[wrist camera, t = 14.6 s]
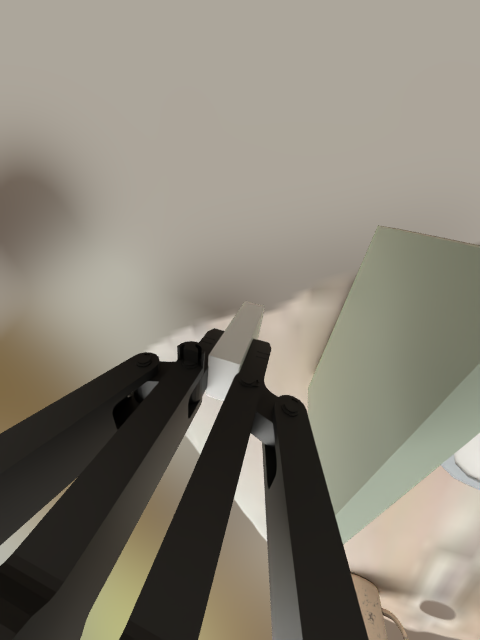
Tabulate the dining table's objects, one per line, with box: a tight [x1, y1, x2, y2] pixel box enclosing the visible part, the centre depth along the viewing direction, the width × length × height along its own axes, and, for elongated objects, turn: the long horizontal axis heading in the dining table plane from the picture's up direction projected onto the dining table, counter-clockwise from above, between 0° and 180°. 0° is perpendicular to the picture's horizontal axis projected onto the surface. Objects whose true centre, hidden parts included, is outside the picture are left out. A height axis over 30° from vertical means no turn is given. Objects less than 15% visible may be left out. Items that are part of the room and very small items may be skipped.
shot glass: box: [441, 433, 480, 490], centre depth 12 cm, size 7×7×7 cm
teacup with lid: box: [351, 573, 409, 640], centre depth 35 cm, size 12×9×12 cm
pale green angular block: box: [308, 226, 480, 544], centre depth 11 cm, size 13×15×11 cm
